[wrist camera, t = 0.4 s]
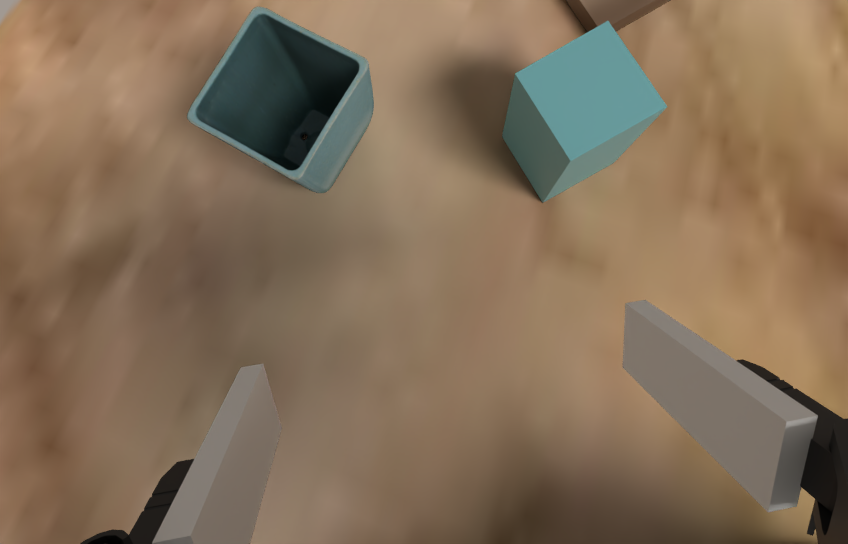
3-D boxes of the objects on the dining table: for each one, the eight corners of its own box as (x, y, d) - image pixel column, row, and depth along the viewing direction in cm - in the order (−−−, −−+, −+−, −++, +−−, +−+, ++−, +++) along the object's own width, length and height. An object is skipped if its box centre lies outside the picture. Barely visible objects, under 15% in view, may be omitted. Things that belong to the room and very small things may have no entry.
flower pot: (305, 77, 37) (254, 0, 28) (394, 124, 36) (371, 59, 27) (250, 166, 36) (181, 117, 28) (339, 217, 35) (297, 182, 26)
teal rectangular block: (613, 163, 34) (667, 106, 25) (542, 202, 34) (570, 161, 25) (571, 97, 35) (608, 20, 26) (501, 136, 35) (515, 73, 26)
